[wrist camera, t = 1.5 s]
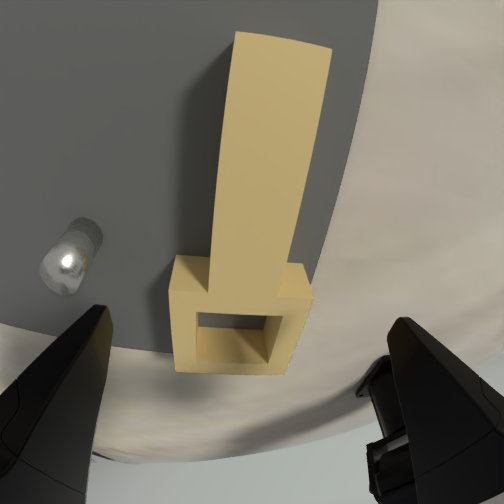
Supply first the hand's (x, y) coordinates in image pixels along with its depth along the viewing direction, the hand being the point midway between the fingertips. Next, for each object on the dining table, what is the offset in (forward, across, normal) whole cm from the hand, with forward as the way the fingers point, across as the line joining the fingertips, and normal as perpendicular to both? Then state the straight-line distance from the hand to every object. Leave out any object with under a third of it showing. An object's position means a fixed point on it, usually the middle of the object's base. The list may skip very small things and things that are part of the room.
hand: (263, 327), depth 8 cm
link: (+6, 0, 0) cm, 6 cm away
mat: (+7, +9, -2) cm, 11 cm away
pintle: (+6, +8, +1) cm, 10 cm away
